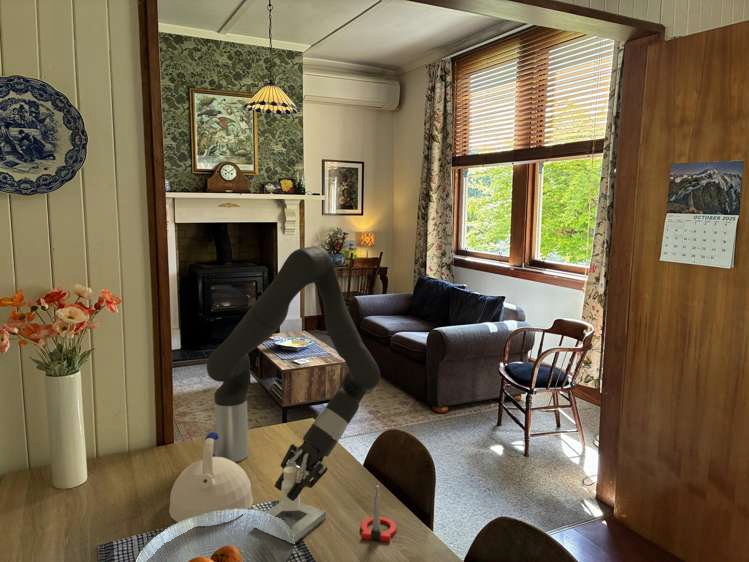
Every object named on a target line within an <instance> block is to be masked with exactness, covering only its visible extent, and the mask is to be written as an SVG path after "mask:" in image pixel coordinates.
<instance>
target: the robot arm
mask: <svg viewBox="0 0 749 562" xmlns="http://www.w3.org/2000/svg"><path fill="white" fill-rule="evenodd" d="M310 284H314V285H315V287H316V288H317V289H318V292H319V294H320V296H321V300H322V303H323V304H322V305H323V310H324V311H323V312H324V321H325V327H326V328H325V329H326V330H327V334H328V336H329V338H330V340H331V343H332V344H333V346H334V348H335V351H336V353H337V355H338V356H339V357H340V358H341V359H343V361H344V362H345V364H346V366H347V368H348V369H349V370H348V372H347V373H346V374H345V376H344V378H343V379H342V380H341V383H340V385H339V387H338V389H337V391H336V392H335V394H334V395H333V396H332V397H331V399H330V400H329V402H328V403H327V404H326V406H325V407H324V408H323V410H322V411H321V412H320V413H319V414H318V415H317V417H316V418H315V419H314V421H313V422H312V424H311V426H310V427H309V429H307V431H306V433H305V434H304V436H303V438H302V440H303V443H302V444H301V445H299V446H296V445H295V444H293V443H292V444H290V445H289V448H288V450H287V451H286V454H284V457H283V460H282V462H281V463H280V467H281V469H282V471H283V470H284V469H285V468H286V467H295V468H297V472H299V475H298V476H297V479H298V480H297V483H296V482H295V484H294V485H293V487H292V488H291V489H290V491H289V492H288V494H287V497H288V498H289V499H290V500H292V501H294V500H295V499H296V498H297V497H298V495H299V494H300V495H301V492H302V491H303V489H304V488H309V489H312V488H313V487H314V486H315V485H316V483H318V482H319V481H320V479H321V478H322V477H323V476H324V474H326V473H327V471H328V468H329V467H327V466H326V465H324V464H323V461H324V458H325V457H329V456H330V454H331V453H332V451H333V450H334V448H335V447H336V445H337V444H338V442H340V440H341V438H342V436H343V435H344V433H345V432H346V430H347V427H348V425H349V424H350V423H351V421H352V420H353V418H354V417H355V415H356V413H357V412H358V410H359V408H360V402H361V401H362V399H363V398H364V397H365V395H366V393H367V392H368V391H369V390H372V389H374V388H376V387H377V386H378V385H379V384H380V381H381V371H380V368H379V365H378V364H377V362H376V360H375V358H374V357H373V356H372V354H371V352H370V351H369V350H368V348H367V347H366V345H365V344H364V343H363V340H362V337H361V335H360V333H359V332H358V329H357V327H356V324H355V323H354V320H353V319H352V317H351V314H350V312H349V310H348V307H347V304H346V301H345V299H344V295H343V292H342V289H341V288H342V287H341V286H340V282H339V280H338V277H337V273H336V270H335V266H334V262H333V260H332V258H331V256H330V254H329V252H328V250H326V249H325V248H324V247H321V246H316V245H314V246H307V247H302V248H298V249H295V250H294V251H293V252H291V253H290V254H289V255H288V256H287V258H286V259H285V261H284V263H283V264H282V265H281V267H280V270H279V271H278V273H277V274H276V276H275V277H274V279H273V280H272V282H271V283H270V284H269V285H268V286H267V287H266V289H265V290H264V291H263V293H262V294H261V295H260V296H259V297H258V298H257V300H256V301H255V302H254V303H253V305H252V306H251V307H250V308H249V310H247V312H246V313H245V315H244V316H243V318H241V320H240V321H239V323H238V324H237V325H236V327H234V329H233V330H232V332H231V333H230V334H229V335H228V337H227V338H226V339H225V340H224V341H223V342H222V343H221V344H219V346H218V347H217V348H215V349H214V350H213V352H211V353H210V355H209V357H208V359H207V362H206V372H207V374H208V376H209V378H210V379H212V380H213V381H215V382H219V383H221V382H222V384H221V385H220V386H219V387H218V388H217V389H216V390H215V392H214V399H213V400H214V419H215V420H214V422H215V423H214V424H213V426H212V432H215V433H217V434H218V437H219V438H218V439H217V440H214V443H213V453H214V454H215V457H223V458H226V459H228V460H231V461H233V462H235V463H237V462H241V461H243V460H245V459H246V458H247V457H249V436H248V435H249V432H248V430H249V429H248V428H249V427H248V393H249V390H250V383H251V382H250V378H251V377H250V376H251V362H250V361H251V360H250V356H249V353H250V352H252V351H253V350H254V349H256V348H257V347H260V346H261V345H262V344H263V343H265V342H266V341H267V340H269V338H271V337H272V336H273V335H274V334H275V333H276V332H277V331H278V330H279V328H280V327H281V326H282V325H283V324H284V321H285V320H286V318H287V316H288V312H289V309H290V305H291V303H292V302H293V300H294V298H295V297H296V296H297V295H299V293H300V292H301V291H302V290H303V289H304V288H305V287H306V286H307V287H308V285H310ZM283 481H284V476H283V472H282V473H280V475H279V477H278V479H277V480H276V482H275V484H274V488H276V489H277V490H278V491H280V492H282V482H283Z"/></svg>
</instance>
